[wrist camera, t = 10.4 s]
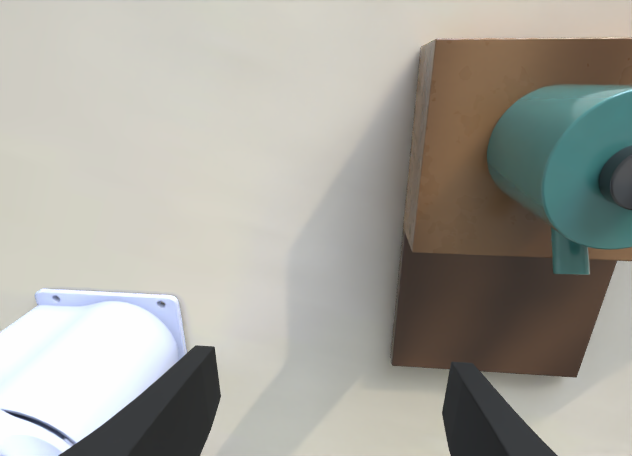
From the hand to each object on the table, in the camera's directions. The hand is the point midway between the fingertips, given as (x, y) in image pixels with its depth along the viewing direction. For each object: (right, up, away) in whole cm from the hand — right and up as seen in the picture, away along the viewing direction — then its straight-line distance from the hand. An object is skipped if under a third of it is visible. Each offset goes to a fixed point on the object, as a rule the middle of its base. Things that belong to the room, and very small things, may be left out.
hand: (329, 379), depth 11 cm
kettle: (+9, +8, +4) cm, 13 cm away
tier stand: (+10, +5, +9) cm, 14 cm away
